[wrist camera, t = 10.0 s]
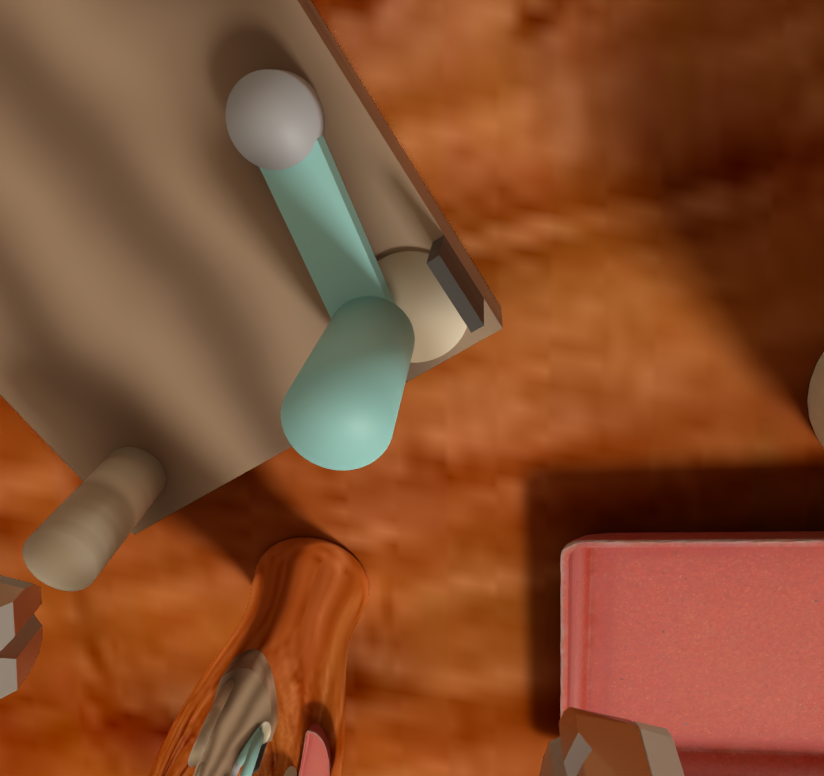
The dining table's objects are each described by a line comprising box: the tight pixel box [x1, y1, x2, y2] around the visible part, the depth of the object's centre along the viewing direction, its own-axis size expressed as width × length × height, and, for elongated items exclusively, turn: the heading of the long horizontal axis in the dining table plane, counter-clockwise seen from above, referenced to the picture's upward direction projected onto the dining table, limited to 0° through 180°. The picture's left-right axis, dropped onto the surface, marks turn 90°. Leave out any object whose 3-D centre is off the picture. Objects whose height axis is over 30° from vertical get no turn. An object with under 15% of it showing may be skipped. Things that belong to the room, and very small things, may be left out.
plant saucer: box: [560, 531, 824, 776], centre depth 33 cm, size 18×18×3 cm
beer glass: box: [148, 537, 369, 776], centre depth 28 cm, size 7×7×15 cm
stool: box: [0, 0, 503, 591], centre depth 24 cm, size 20×20×8 cm
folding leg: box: [225, 69, 415, 470], centre depth 20 cm, size 11×3×8 cm, turn 22°
